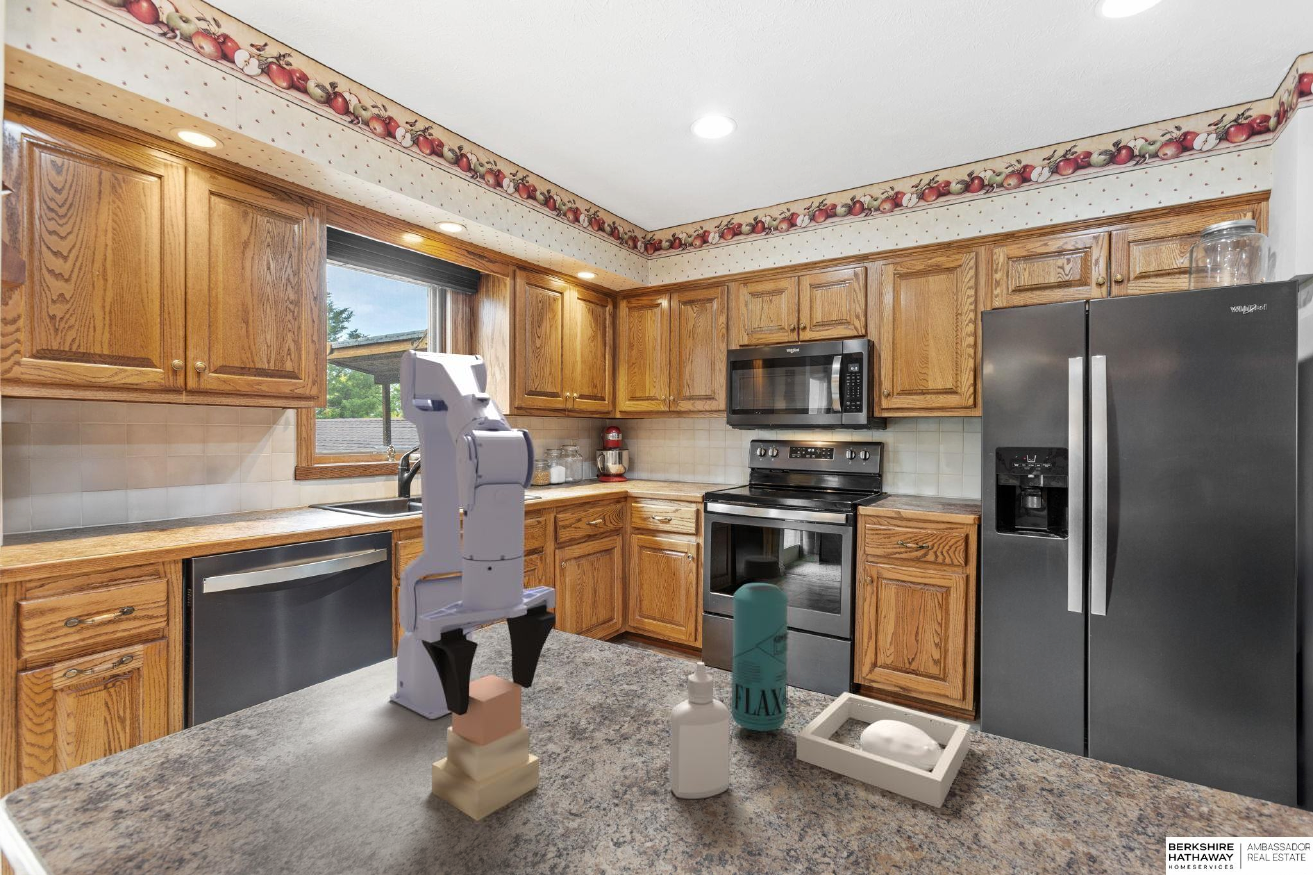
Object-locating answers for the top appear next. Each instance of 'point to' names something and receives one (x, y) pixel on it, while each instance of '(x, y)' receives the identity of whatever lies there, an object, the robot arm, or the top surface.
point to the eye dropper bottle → (699, 741)
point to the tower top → (488, 753)
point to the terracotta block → (490, 710)
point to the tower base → (483, 786)
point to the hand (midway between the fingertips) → (491, 697)
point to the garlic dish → (879, 769)
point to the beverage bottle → (759, 649)
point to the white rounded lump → (901, 744)
